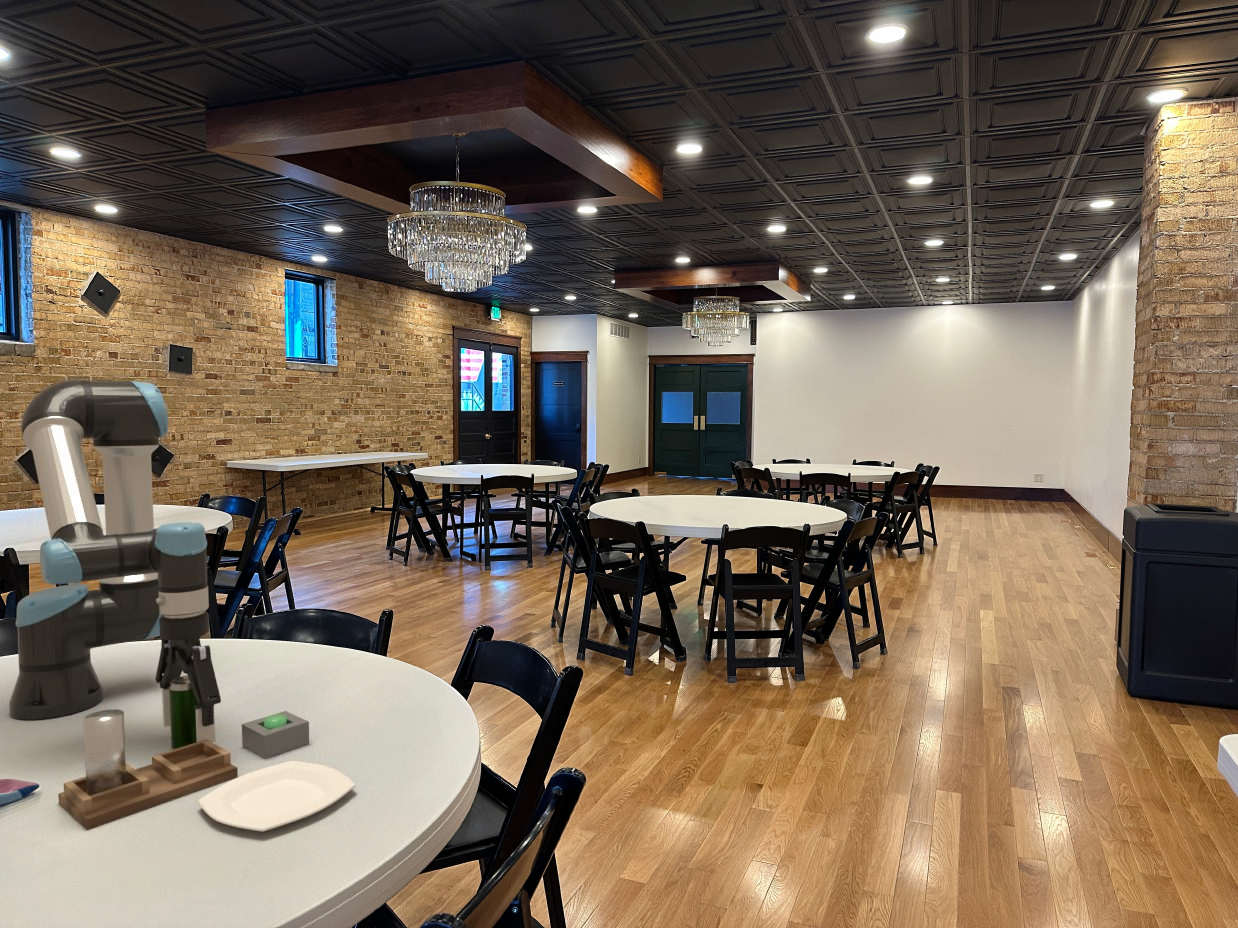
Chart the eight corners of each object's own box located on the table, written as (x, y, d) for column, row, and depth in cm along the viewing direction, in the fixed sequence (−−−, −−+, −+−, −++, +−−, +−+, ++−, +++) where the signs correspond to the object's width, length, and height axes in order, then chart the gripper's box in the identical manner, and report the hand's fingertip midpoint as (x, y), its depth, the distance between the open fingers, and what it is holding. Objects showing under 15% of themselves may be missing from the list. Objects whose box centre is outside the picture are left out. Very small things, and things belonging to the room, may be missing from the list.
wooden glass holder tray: (58, 803, 119) (57, 780, 119) (204, 756, 135) (203, 736, 135) (87, 829, 111) (86, 805, 111) (237, 776, 128) (237, 755, 127)
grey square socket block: (242, 746, 139) (241, 723, 139) (286, 732, 145) (285, 710, 145) (265, 758, 134) (264, 735, 134) (309, 743, 140) (308, 721, 140)
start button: (260, 735, 139) (260, 718, 139) (280, 729, 142) (279, 712, 142) (270, 740, 137) (270, 723, 137) (290, 734, 140) (290, 717, 140)
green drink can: (172, 756, 135) (170, 686, 134) (170, 745, 140) (167, 678, 139) (208, 748, 138) (205, 681, 137) (204, 738, 143) (202, 672, 142)
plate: (259, 853, 106) (259, 838, 106) (179, 814, 116) (178, 801, 116) (373, 794, 122) (373, 781, 122) (294, 765, 133) (293, 753, 132)
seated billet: (81, 795, 118) (78, 716, 117) (119, 783, 122) (116, 706, 121) (94, 805, 115) (90, 724, 114) (132, 793, 119) (129, 714, 118)
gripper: (132, 606, 142) (136, 722, 144) (192, 629, 127) (197, 759, 128) (176, 598, 148) (180, 710, 149) (240, 619, 132) (244, 744, 134)
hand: (188, 733), depth 139 cm, fingers open, 13 cm apart
